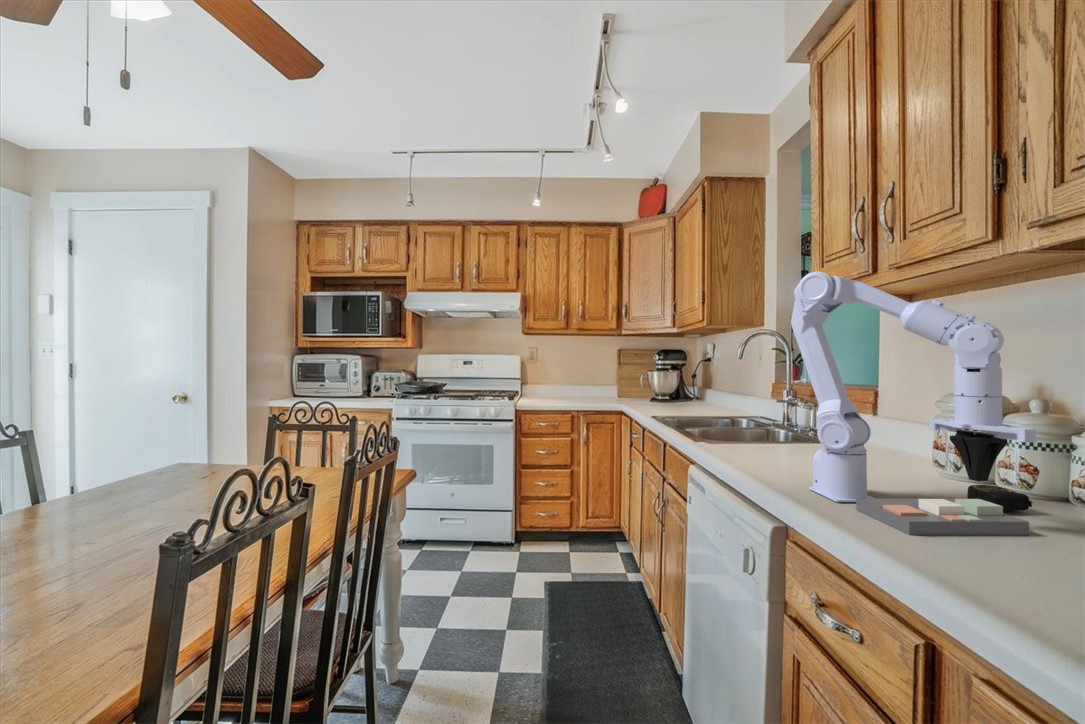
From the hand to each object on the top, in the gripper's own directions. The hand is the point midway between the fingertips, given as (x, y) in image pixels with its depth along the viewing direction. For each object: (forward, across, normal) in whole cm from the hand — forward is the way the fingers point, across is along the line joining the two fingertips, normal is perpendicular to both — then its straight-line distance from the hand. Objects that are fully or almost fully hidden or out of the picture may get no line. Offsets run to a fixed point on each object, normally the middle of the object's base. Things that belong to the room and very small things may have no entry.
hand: (978, 480), depth 75 cm
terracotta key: (+7, -2, -12) cm, 14 cm away
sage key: (+6, 0, 0) cm, 6 cm away
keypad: (+7, -2, -6) cm, 9 cm away
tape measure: (+7, -6, +11) cm, 14 cm away
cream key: (+6, -1, -6) cm, 8 cm away
